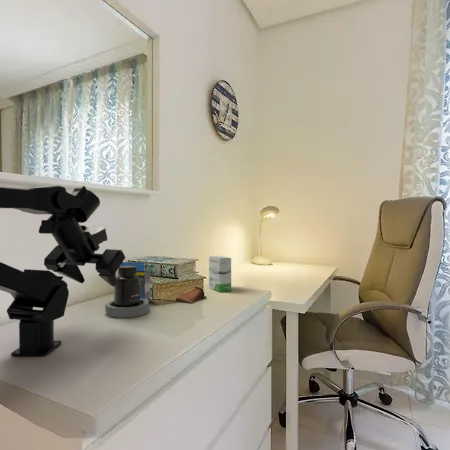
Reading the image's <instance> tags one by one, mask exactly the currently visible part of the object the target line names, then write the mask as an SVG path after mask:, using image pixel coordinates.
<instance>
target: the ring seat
mask: <svg viewBox="0 0 450 450" xmlns="http://www.w3.org/2000/svg"><path fill="white" fill-rule="evenodd" d="M104 305H105V306H104V307H105V309H104V310H105V314H106V315H107V316H108V317H111V318H117V319H118V318H119V319H124V318H127V319H128V318H134V317H139V316H143V315H145V314H147V313H148V312H149V309H150V301H148V300H146V299H141V298H140V305H138V306H134V307H114V299H113V300H109V301H108V302H106V303H105V304H104Z"/></svg>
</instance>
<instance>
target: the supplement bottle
mask: <svg viewBox="0 0 450 450" xmlns="http://www.w3.org/2000/svg"><path fill="white" fill-rule="evenodd" d="M136 273H137V266H132V265H130V266H120V267H119V268H118V270H117V274H118V276H117V275H116V284H115V286H114V287H113V300H114V307H134V306H138V305H140V278H139V277H138V276H137V275H136Z"/></svg>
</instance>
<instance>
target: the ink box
mask: <svg viewBox="0 0 450 450" xmlns="http://www.w3.org/2000/svg"><path fill="white" fill-rule="evenodd" d="M208 289H210V290H213V291H216V292H219V293H223V292H229V291H230V292H231V291H232V257H229V256H228V257H227V256H224V255H223V256H221V255H210V256H208Z"/></svg>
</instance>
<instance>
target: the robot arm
mask: <svg viewBox="0 0 450 450" xmlns="http://www.w3.org/2000/svg"><path fill="white" fill-rule="evenodd" d="M100 204H101V199H100V198H99V196H97V195H96V194H95V193H94V192H93V191H91V190H89V189H87V187H86V186H85V185H77V186H76V187H74V189H73V191H72V192H71V193H69V192H68V191H67V189H66V188H65V187H64V186H62V185H34V186H27V187H21V188H20V187H10V186H9V187H7V186H0V209H14V210H18V211H21V212H24V213H28V214H32V215H49V217H48V218H47V219H42V220H41V222H40V223H41V224H40V226H39V228H38V233H39V234H43V235H44V234H48V235H50V234H51V235H52V237H53V238H54V240H55V242H56V244H57V245H56V246H55V247H54V248H53V249H52V250H51V251H50V252H49V253H48V254H47V255H46V256H45V258H44V260H43V265H44V266H45V268H46V270H44V269H30V268H29V269H27V268H24V269H23V271H22V270H20V269H18V268H15V267H13V266H11V265H9V264H6V263H3V262H2V261H0V291H3V292H5V293H8V294H10V295H11V296H12V299H13V301H12V302H11V304H10V305H9V306H8V308H7V309H6V313H7V316H8V318H9V320H17V321H18V320H19V321H18V327H19V328H18V340H19V341H18V345H19V347H18V348H16V349H15V350H13V351H12V352H10V355H11V356H14V357H15V356H16V357H23V356H25V357H27V356H28V357H34V356H35V357H36V356H37V357H42V356H47V355H48V354H50V353H51V352H52V351H53V350H55V349H56V348H57V347H59V346H60V345H61V344H62V340H55V323H54V322H55V320H57V319H60V318H63V317H64V316H65V311H66V308H67V303H68V299H69V293H70V292H69V291H70V290H69V287H68V286H69V284H68V282H66V280H63V278H64V277H66V278H69V279H71V280H73V281H75V282H77V283H79V284H84V282H85V281H86V280H85V277H84V275H83V273H82V271H81V270H80V268H79V267H80V266H83V267H84V266H85V265H86V264H92V265H93V264H95V267H94V269H95V271H96V272H97V273H99V274H98V276H99V277H100V278H101V279H102V280H104V281H105V282H106V283H107V284H108V285H109V286H111V287H113V288H114V286H115V284H116V277H117V273H116V272H118V268H119V267H120V265H121V264H122V262H125V259H126V256H125V254H124V252H123V250H122V249H112V248H111V249H109V248H106V249H105V250H104V252H103V253H95V252H97V251H99V249H100V248H101V247H100V244H102V243H103V242H107V241H108V240H109V239H108V234H107V229H106V227H105V226H86V225H85V224H84V225H83V223H86V222H87V221H88V220H89V219H90V217H91V216H92V215H93V214H94V213H95V212H96V211H97V209H98V208H99V207H100ZM81 224H82V225H81ZM55 273H57V274H59V275H57V274H55ZM34 308H39V309H34ZM41 309H42V310H41Z"/></svg>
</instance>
